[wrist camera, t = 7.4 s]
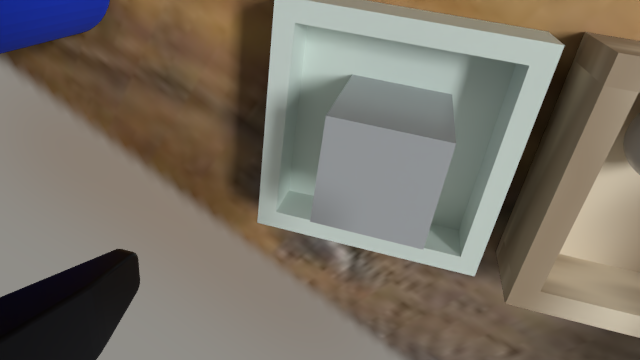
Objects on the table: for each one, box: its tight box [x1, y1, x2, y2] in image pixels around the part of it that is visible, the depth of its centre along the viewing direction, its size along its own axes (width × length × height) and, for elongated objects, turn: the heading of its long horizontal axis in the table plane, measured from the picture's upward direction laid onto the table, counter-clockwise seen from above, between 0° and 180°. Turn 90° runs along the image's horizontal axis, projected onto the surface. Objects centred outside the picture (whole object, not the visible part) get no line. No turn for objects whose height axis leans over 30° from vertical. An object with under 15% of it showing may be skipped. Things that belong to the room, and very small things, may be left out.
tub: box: [257, 0, 565, 276], centre depth 18 cm, size 10×10×2 cm
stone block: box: [310, 74, 456, 250], centre depth 17 cm, size 4×4×5 cm
